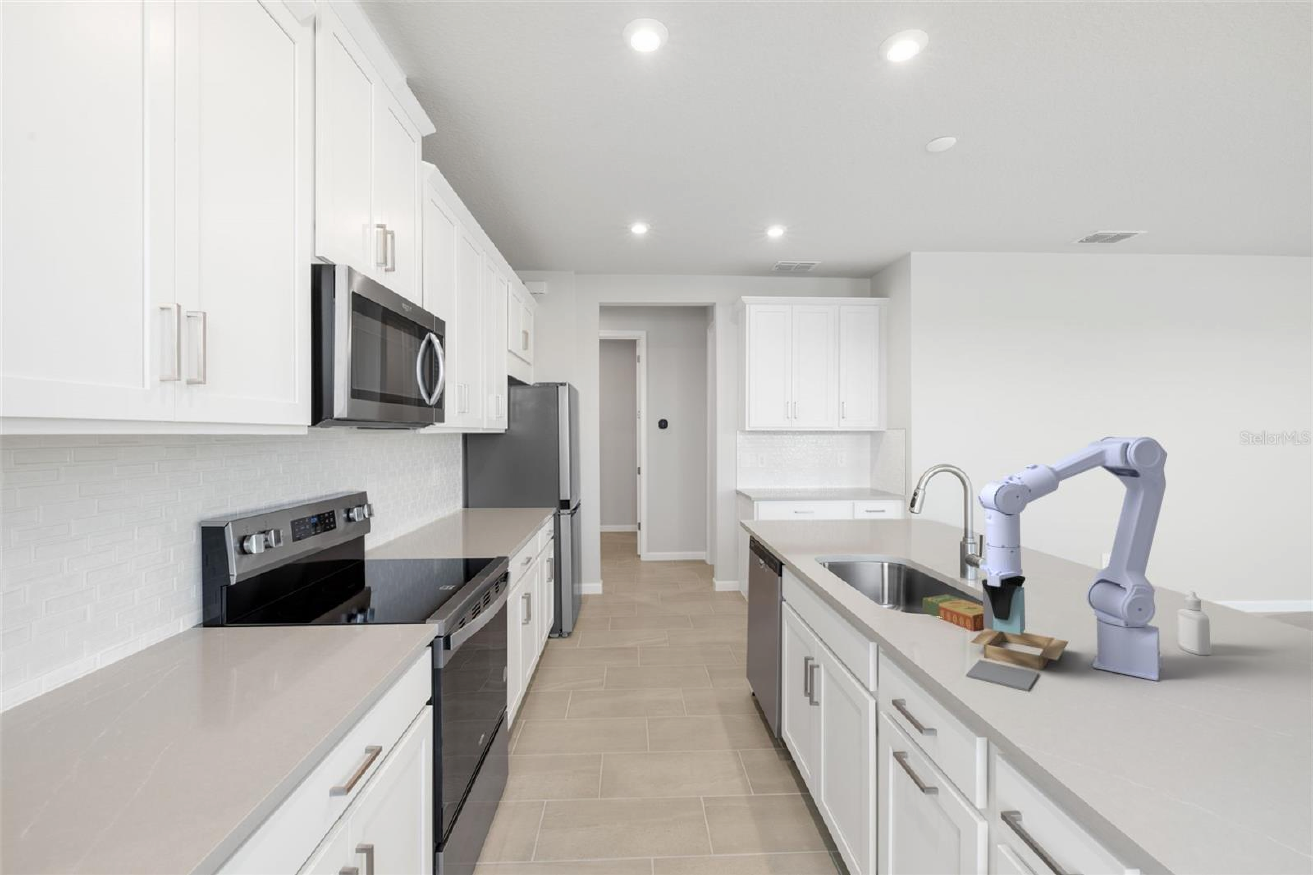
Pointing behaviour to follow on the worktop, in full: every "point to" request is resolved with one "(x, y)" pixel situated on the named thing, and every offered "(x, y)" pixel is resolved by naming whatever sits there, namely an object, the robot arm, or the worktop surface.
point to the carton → (955, 611)
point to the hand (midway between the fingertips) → (1004, 616)
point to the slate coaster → (1003, 675)
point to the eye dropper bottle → (1193, 627)
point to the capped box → (1016, 616)
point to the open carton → (994, 638)
